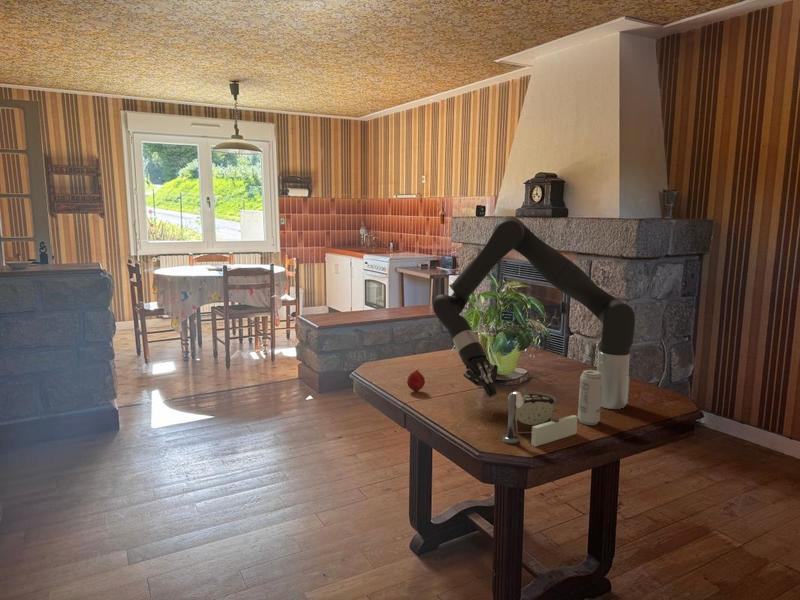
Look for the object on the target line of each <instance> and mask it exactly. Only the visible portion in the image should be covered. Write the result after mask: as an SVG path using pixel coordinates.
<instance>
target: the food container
mask: <svg viewBox="0 0 800 600" xmlns="http://www.w3.org/2000/svg"><path fill="white" fill-rule="evenodd" d="M519 392H520V393H521V394H522V395H523V397H524V406H523V407H522V408H519V409H515V416H514V425H515V432H516V434H532V426H536V425H539V424H543V423H546V422H550V421H552V418H553V416H554V415H553V414H554V410H555V409H554V407H555V405H557V400H556V397H555V396H553V395H551V394H549V393H546V392H541V391H531V390H529V391H519Z"/></svg>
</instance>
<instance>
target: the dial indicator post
mask: <svg viewBox="0 0 800 600" xmlns="http://www.w3.org/2000/svg"><path fill="white" fill-rule="evenodd" d="M520 392H521V391H514V392H513V391H511V392H509V393H508V394H509V395H508V396H507V402H508V415H507V417H508V418H507V434H504V435H502V442H503V443H504V442H505V443H504V444H506V445H507V444H508V445H516V444H518V443H519V437H518V436H517V435H515V433H514V432H515V409H519V408H522V407H523V406H524V397H523V395H522V394H521V393H520Z"/></svg>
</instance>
